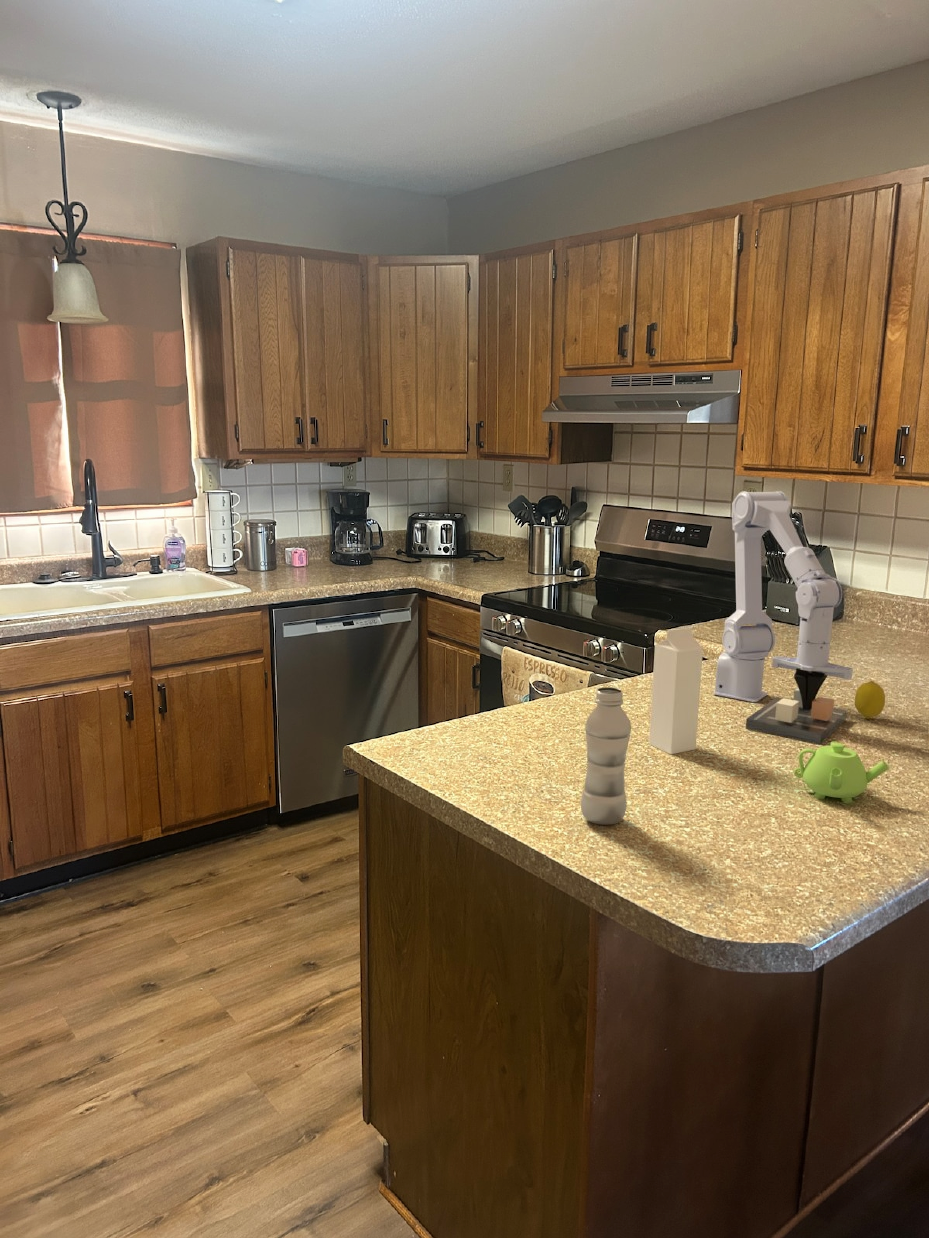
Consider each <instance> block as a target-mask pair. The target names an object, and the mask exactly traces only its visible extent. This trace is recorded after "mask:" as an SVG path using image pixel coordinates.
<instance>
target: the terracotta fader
mask: <svg viewBox="0 0 929 1238" xmlns="http://www.w3.org/2000/svg"><path fill="white" fill-rule="evenodd" d="M834 706H835V699H834V698H829V697H823V696H816V698H815V700H813V701H812V710H811V718H814V719H819V720H825V721H827V720H828V719H830V718H831V717H832V716H833V708H835V707H834Z"/></svg>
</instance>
